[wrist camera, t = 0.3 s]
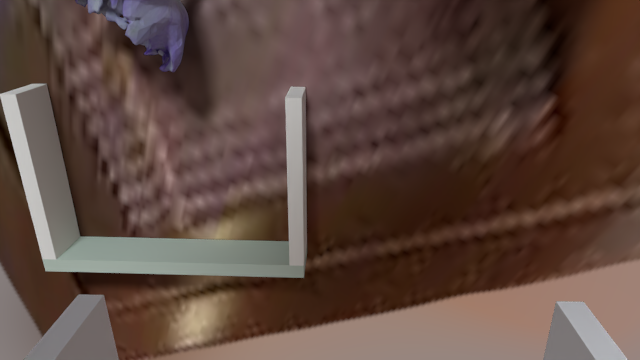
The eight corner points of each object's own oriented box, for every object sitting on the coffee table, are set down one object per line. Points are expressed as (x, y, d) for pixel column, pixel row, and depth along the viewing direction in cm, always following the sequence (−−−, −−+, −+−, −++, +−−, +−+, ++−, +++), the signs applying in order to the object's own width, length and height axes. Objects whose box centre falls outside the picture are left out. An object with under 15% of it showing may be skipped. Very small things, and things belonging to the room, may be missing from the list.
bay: (32, 83, 38) (-1, 94, 35) (305, 86, 38) (301, 98, 34) (70, 247, 44) (45, 271, 41) (307, 253, 43) (303, 277, 40)
